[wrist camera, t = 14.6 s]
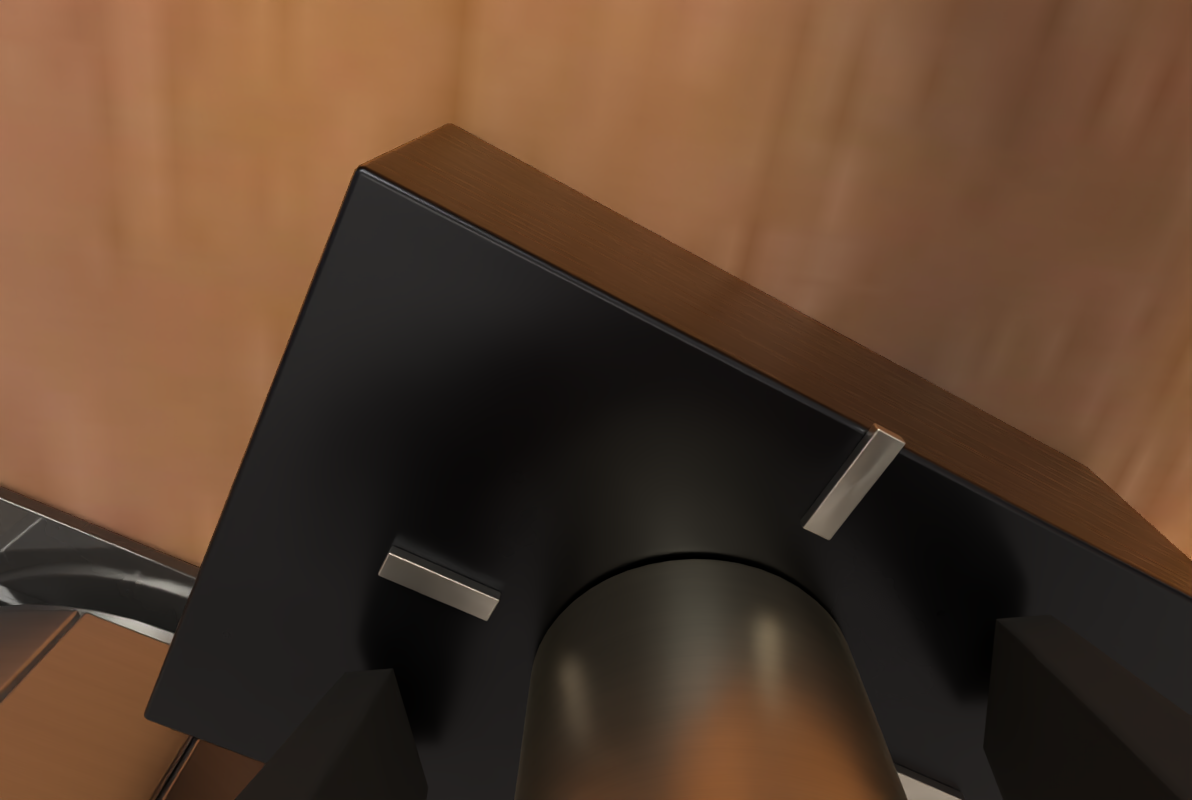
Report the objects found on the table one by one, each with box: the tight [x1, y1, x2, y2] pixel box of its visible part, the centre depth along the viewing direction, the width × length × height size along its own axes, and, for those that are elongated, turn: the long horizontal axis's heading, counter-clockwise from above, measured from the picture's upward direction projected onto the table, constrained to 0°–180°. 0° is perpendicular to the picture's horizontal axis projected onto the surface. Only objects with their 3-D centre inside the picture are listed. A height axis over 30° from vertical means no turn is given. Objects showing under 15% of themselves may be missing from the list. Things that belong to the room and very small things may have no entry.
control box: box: [144, 124, 1192, 800], centre depth 12 cm, size 12×8×5 cm
